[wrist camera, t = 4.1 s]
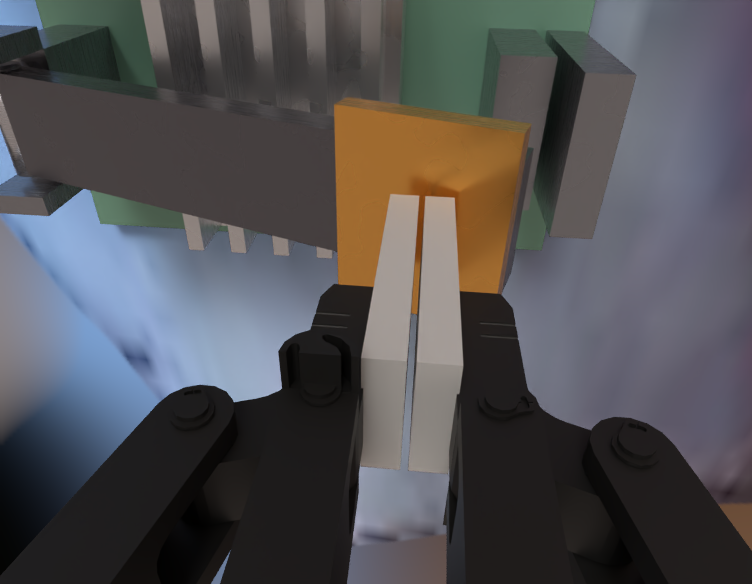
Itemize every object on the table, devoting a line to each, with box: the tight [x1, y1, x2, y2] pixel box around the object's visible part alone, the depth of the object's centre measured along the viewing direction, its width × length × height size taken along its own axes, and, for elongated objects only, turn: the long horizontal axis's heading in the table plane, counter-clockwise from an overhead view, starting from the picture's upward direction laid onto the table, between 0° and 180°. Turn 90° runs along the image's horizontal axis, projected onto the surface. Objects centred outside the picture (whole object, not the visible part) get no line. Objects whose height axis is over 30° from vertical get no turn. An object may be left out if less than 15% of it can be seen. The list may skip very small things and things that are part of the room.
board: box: [35, 0, 595, 250], centre depth 27 cm, size 16×25×1 cm, turn 89°
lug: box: [478, 28, 636, 239], centre depth 23 cm, size 6×4×8 cm
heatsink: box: [140, 0, 406, 258], centre depth 25 cm, size 12×10×6 cm
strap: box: [0, 61, 534, 314], centre depth 19 cm, size 6×21×2 cm, turn 89°
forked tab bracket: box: [0, 24, 121, 216], centre depth 24 cm, size 7×2×8 cm, turn 179°
